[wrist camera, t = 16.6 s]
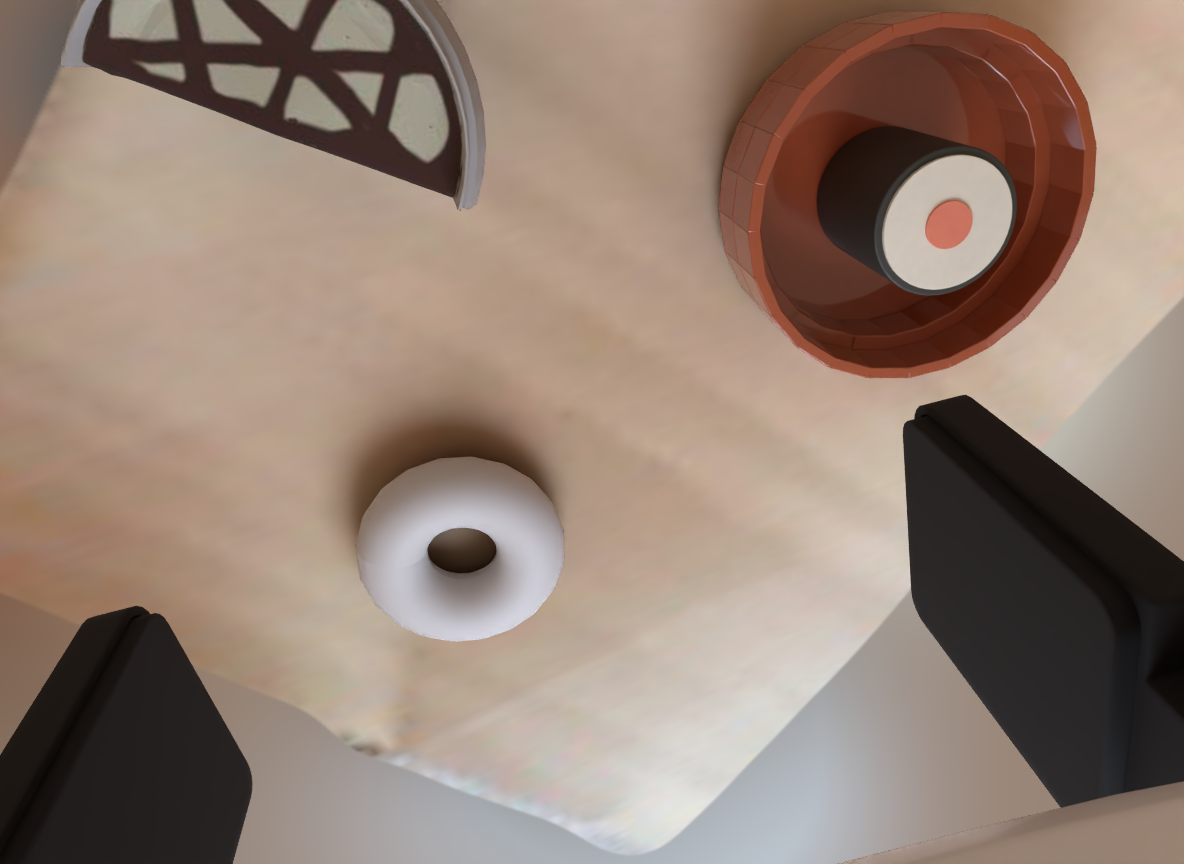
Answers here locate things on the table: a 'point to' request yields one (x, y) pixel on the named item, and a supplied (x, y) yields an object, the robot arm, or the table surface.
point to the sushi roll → (917, 208)
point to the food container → (308, 75)
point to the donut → (460, 501)
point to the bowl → (924, 104)
